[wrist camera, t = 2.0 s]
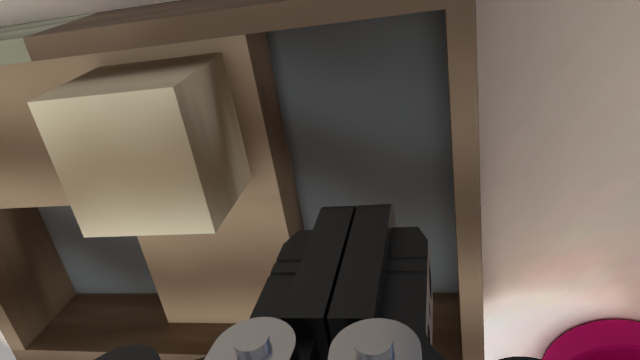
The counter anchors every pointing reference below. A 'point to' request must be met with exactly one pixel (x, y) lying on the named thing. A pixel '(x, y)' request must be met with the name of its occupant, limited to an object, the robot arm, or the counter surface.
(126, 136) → the maple block
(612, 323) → the pepper mill
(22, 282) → the tray
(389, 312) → the robot arm
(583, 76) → the counter surface
